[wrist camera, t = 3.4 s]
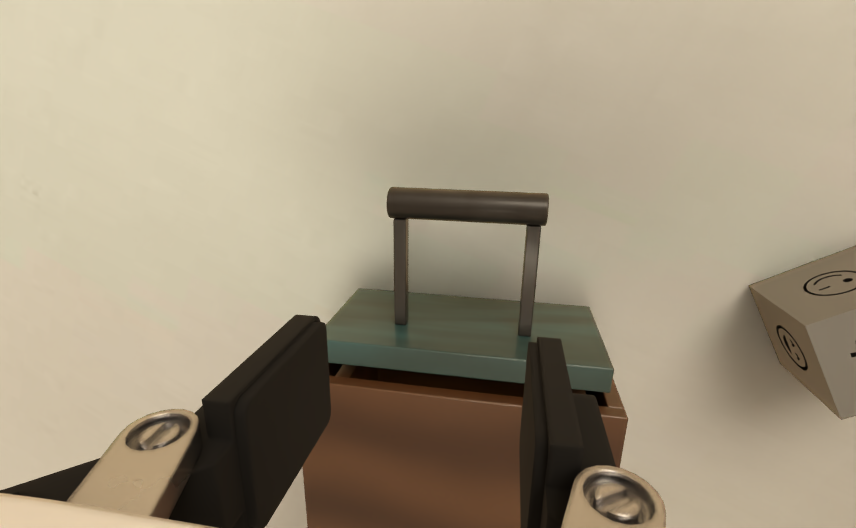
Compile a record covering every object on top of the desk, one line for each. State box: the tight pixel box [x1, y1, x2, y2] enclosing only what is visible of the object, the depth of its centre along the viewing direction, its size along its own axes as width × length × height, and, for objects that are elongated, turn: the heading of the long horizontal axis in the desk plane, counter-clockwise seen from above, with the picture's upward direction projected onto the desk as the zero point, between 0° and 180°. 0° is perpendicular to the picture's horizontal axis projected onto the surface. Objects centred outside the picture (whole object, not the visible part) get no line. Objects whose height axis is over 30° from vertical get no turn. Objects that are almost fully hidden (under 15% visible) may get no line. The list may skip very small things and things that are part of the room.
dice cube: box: [749, 246, 856, 420], centre depth 22 cm, size 5×5×5 cm
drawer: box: [326, 187, 614, 397], centre depth 24 cm, size 21×13×7 cm, turn 179°
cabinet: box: [303, 363, 628, 528], centre depth 26 cm, size 15×14×8 cm
